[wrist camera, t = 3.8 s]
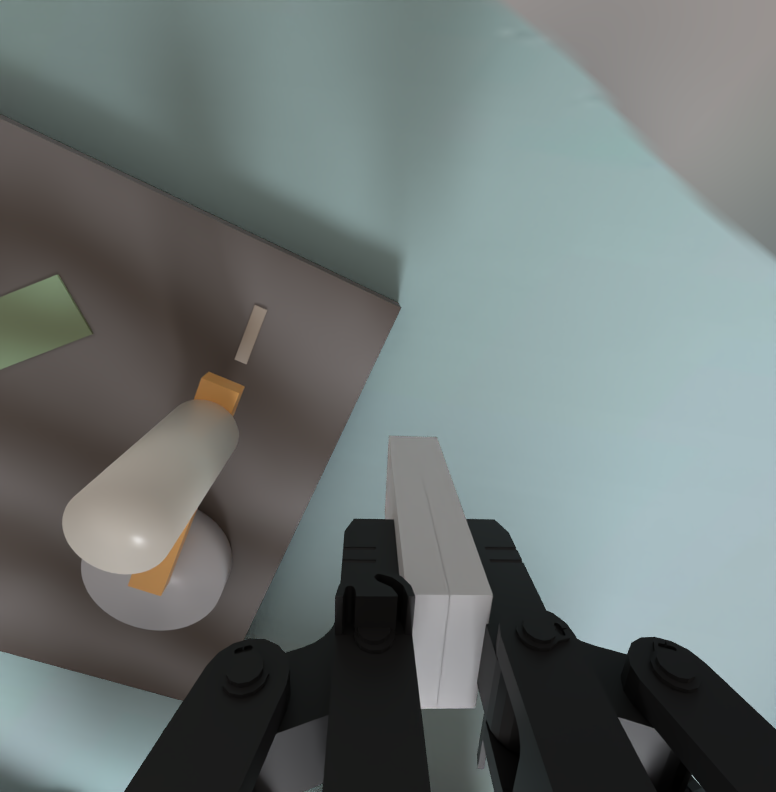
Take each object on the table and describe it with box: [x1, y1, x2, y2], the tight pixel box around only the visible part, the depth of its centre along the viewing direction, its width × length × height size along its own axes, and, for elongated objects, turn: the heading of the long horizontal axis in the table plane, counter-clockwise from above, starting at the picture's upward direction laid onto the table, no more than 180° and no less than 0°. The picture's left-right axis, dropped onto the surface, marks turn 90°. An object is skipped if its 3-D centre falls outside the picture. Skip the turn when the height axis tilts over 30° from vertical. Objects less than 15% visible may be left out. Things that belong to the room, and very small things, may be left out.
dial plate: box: [0, 114, 401, 701], centre depth 20 cm, size 24×18×2 cm
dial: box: [62, 372, 245, 631], centre depth 16 cm, size 13×6×8 cm, turn 155°
